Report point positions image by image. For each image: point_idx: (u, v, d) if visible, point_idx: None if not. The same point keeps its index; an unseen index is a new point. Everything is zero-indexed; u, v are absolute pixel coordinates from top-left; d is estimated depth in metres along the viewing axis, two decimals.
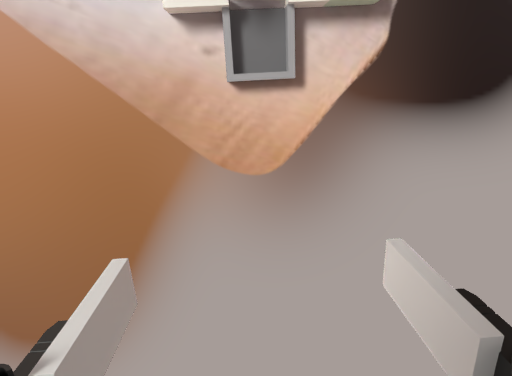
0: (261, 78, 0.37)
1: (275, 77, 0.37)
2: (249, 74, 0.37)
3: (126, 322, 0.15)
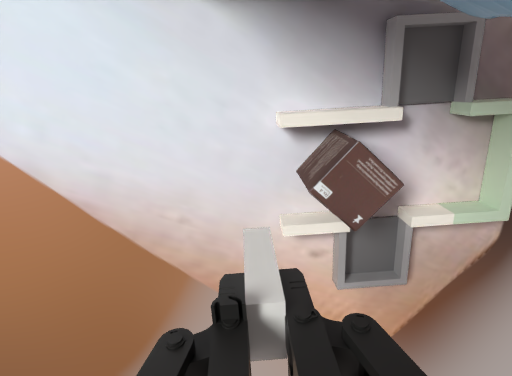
0: (372, 285, 0.36)
1: (386, 284, 0.36)
2: (360, 282, 0.36)
3: None
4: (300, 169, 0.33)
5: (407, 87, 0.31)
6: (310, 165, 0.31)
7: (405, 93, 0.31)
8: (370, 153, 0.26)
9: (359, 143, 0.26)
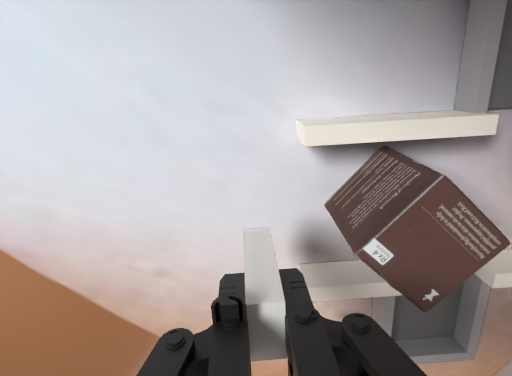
0: (427, 361, 0.26)
1: (446, 359, 0.26)
2: (411, 358, 0.26)
3: None
4: (331, 204, 0.22)
5: (496, 82, 0.21)
6: (348, 202, 0.20)
7: (492, 91, 0.21)
8: (461, 194, 0.16)
9: (444, 178, 0.15)
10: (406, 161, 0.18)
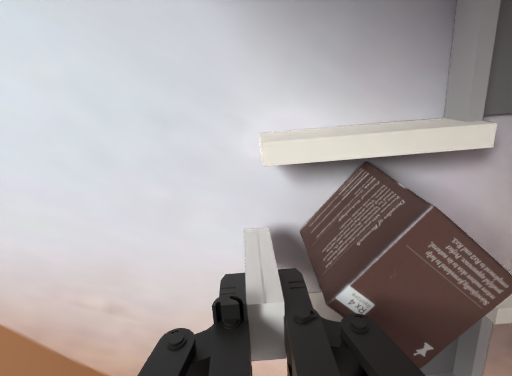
0: None
1: None
2: None
3: None
4: (306, 231, 0.19)
5: (493, 84, 0.17)
6: (324, 231, 0.17)
7: (489, 95, 0.18)
8: (456, 229, 0.12)
9: (434, 210, 0.12)
10: (389, 183, 0.15)
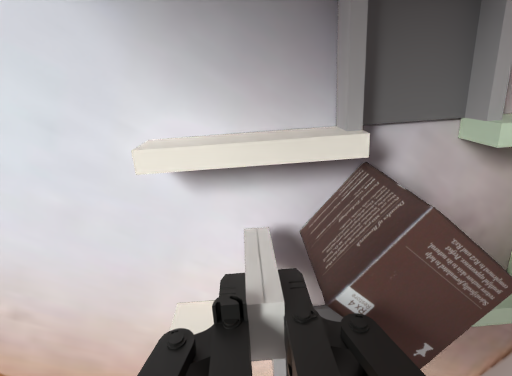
0: None
1: None
2: None
3: None
4: (306, 232, 0.19)
5: (381, 93, 0.17)
6: (324, 231, 0.17)
7: (378, 104, 0.18)
8: (455, 230, 0.12)
9: (433, 211, 0.12)
10: (389, 184, 0.15)
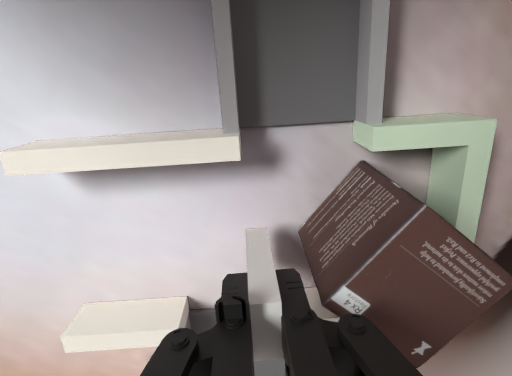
0: None
1: None
2: None
3: None
4: (304, 231, 0.19)
5: (266, 95, 0.17)
6: (321, 231, 0.17)
7: (264, 106, 0.17)
8: (450, 228, 0.12)
9: (427, 210, 0.12)
10: (384, 183, 0.15)
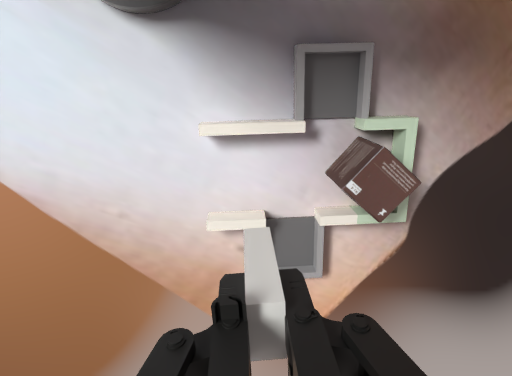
0: None
1: (304, 277, 0.41)
2: None
3: None
4: (329, 171, 0.38)
5: (315, 103, 0.36)
6: (339, 167, 0.36)
7: (313, 109, 0.36)
8: (393, 156, 0.31)
9: (384, 148, 0.31)
10: (369, 143, 0.34)
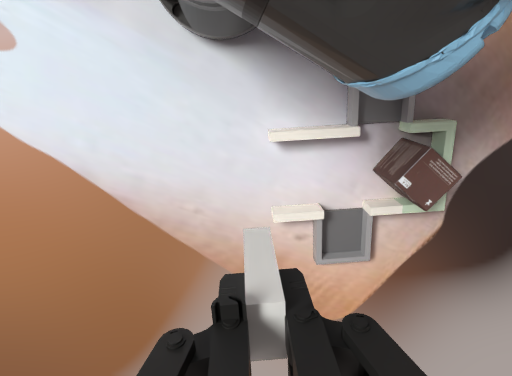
0: (343, 261, 0.47)
1: (354, 260, 0.47)
2: (334, 259, 0.47)
3: None
4: (377, 168, 0.44)
5: (365, 110, 0.42)
6: (387, 165, 0.42)
7: (364, 115, 0.42)
8: (439, 155, 0.37)
9: (431, 148, 0.37)
10: (415, 143, 0.40)
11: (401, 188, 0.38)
